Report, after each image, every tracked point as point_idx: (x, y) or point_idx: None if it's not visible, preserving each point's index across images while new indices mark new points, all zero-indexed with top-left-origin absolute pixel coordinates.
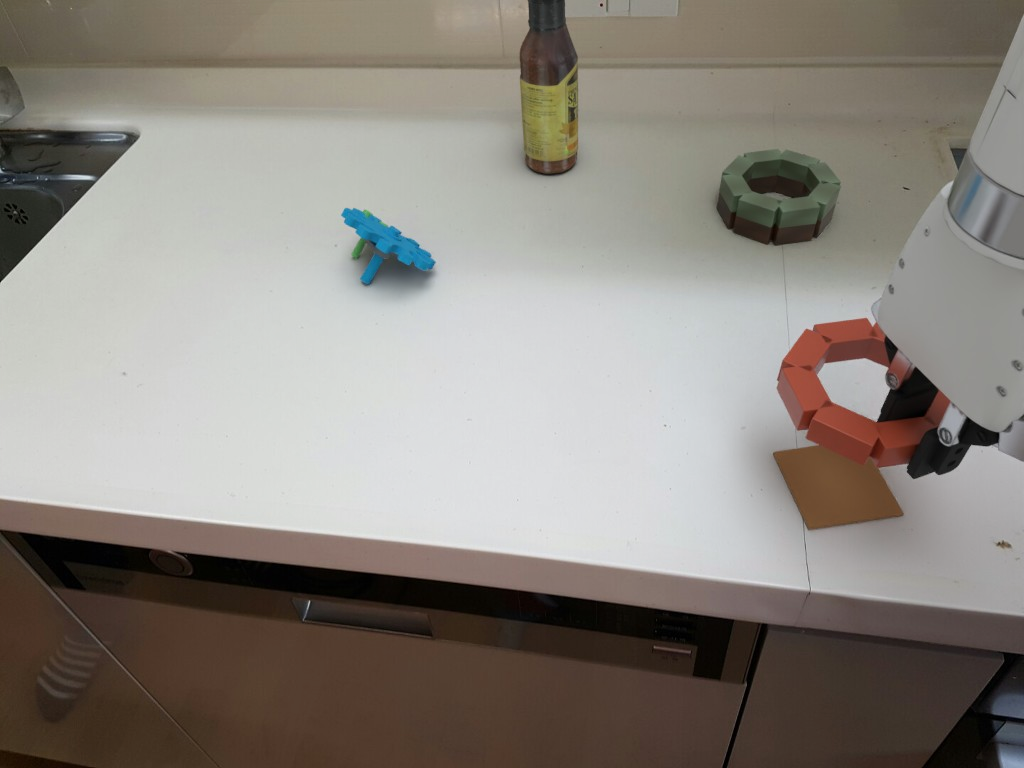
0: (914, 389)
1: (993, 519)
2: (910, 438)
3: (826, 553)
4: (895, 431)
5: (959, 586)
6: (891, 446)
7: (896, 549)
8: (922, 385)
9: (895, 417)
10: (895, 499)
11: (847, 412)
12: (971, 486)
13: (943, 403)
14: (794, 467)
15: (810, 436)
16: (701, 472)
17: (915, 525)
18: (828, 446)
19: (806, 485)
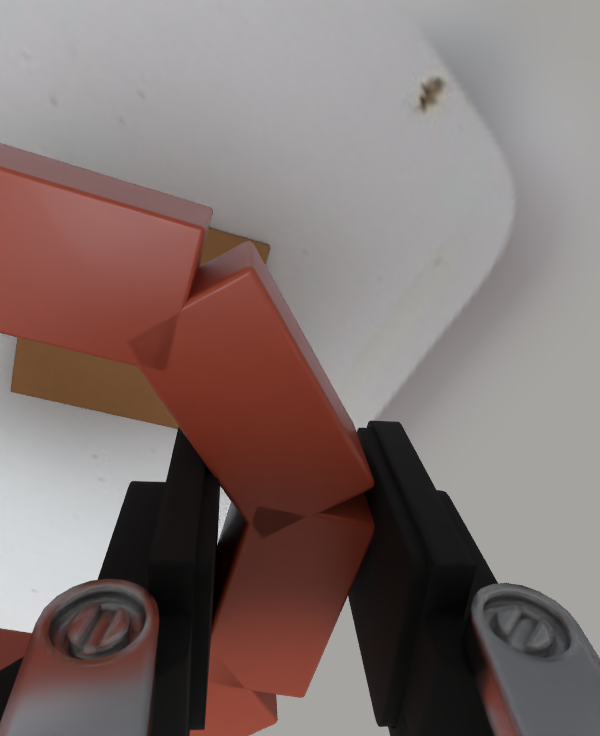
0: (187, 712)
1: (372, 53)
2: (309, 621)
3: None
4: (260, 643)
5: (448, 263)
6: (305, 681)
7: (327, 313)
8: (187, 691)
9: (211, 626)
10: (231, 237)
11: None
12: (274, 18)
13: (224, 418)
14: (67, 376)
15: None
16: (14, 530)
17: (300, 237)
18: None
19: (121, 383)
